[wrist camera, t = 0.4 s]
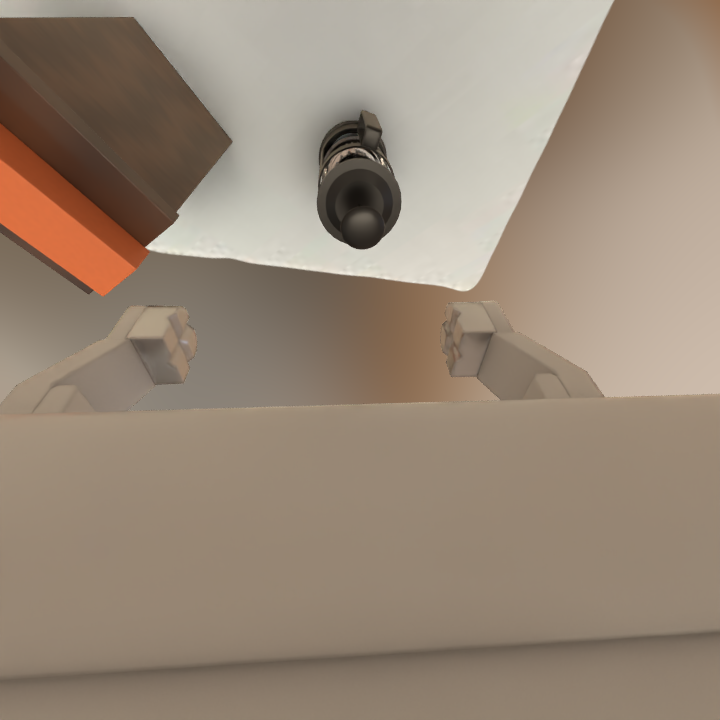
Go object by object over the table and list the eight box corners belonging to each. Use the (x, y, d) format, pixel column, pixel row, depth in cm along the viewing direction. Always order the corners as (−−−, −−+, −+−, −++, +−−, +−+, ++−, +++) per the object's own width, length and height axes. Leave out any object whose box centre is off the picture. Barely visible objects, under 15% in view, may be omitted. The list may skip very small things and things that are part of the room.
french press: (372, 207, 55) (389, 289, 39) (311, 188, 53) (301, 267, 36) (401, 119, 48) (438, 175, 31) (331, 93, 45) (331, 138, 29)
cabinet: (65, 92, 44) (-136, 150, 25) (132, 11, 39) (-51, 7, 21) (171, 198, 53) (82, 299, 34) (235, 142, 48) (174, 222, 30)
